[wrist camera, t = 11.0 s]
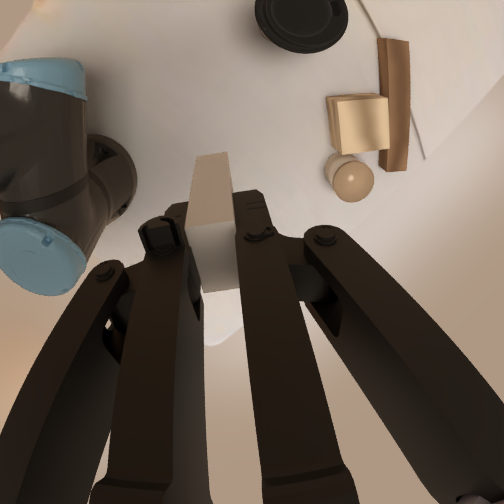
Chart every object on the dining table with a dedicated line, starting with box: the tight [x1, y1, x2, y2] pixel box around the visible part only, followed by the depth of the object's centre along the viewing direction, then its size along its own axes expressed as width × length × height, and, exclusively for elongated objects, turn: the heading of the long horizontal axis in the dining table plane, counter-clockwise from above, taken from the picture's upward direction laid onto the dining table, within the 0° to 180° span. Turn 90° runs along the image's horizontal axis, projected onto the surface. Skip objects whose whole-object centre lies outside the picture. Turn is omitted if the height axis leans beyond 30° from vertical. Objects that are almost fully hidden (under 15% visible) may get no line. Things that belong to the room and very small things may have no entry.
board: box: [377, 38, 410, 172], centre depth 39 cm, size 4×22×3 cm, turn 7°
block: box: [326, 93, 390, 155], centre depth 40 cm, size 8×8×5 cm
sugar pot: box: [324, 152, 374, 202], centre depth 45 cm, size 7×7×6 cm
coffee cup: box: [255, 0, 348, 54], centre depth 26 cm, size 9×9×15 cm
